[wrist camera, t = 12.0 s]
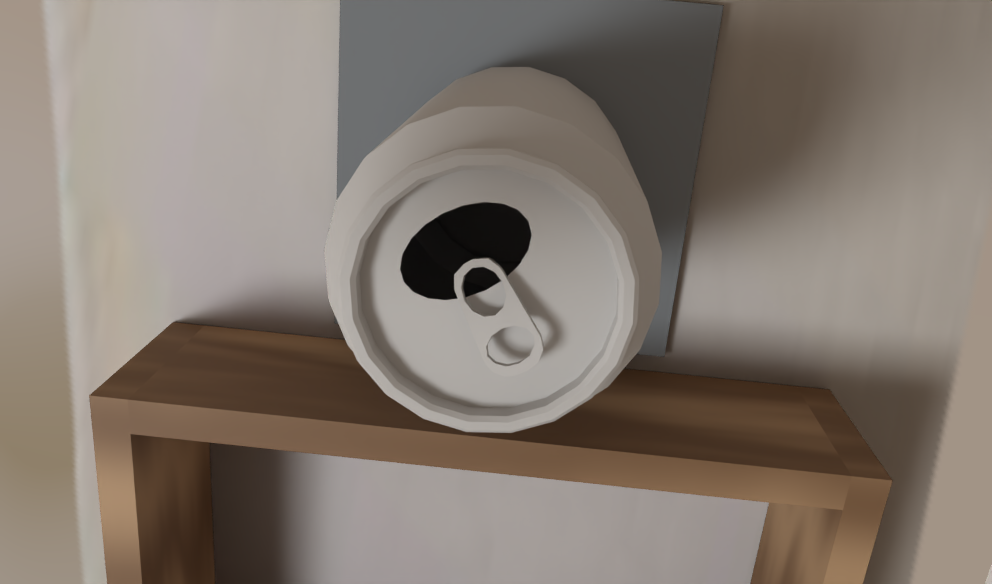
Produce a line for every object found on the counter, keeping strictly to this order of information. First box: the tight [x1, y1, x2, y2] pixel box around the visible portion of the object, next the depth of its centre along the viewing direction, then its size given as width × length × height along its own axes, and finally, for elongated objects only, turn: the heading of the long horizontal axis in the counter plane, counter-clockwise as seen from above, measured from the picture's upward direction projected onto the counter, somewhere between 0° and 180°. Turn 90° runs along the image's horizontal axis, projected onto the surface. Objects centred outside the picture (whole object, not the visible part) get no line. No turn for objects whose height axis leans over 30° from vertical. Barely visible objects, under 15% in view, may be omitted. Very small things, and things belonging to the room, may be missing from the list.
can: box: [324, 67, 662, 433], centre depth 22 cm, size 8×8×12 cm
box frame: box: [89, 322, 893, 584], centre depth 30 cm, size 14×24×6 cm, turn 85°
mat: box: [335, 0, 724, 357], centre depth 28 cm, size 12×12×1 cm
